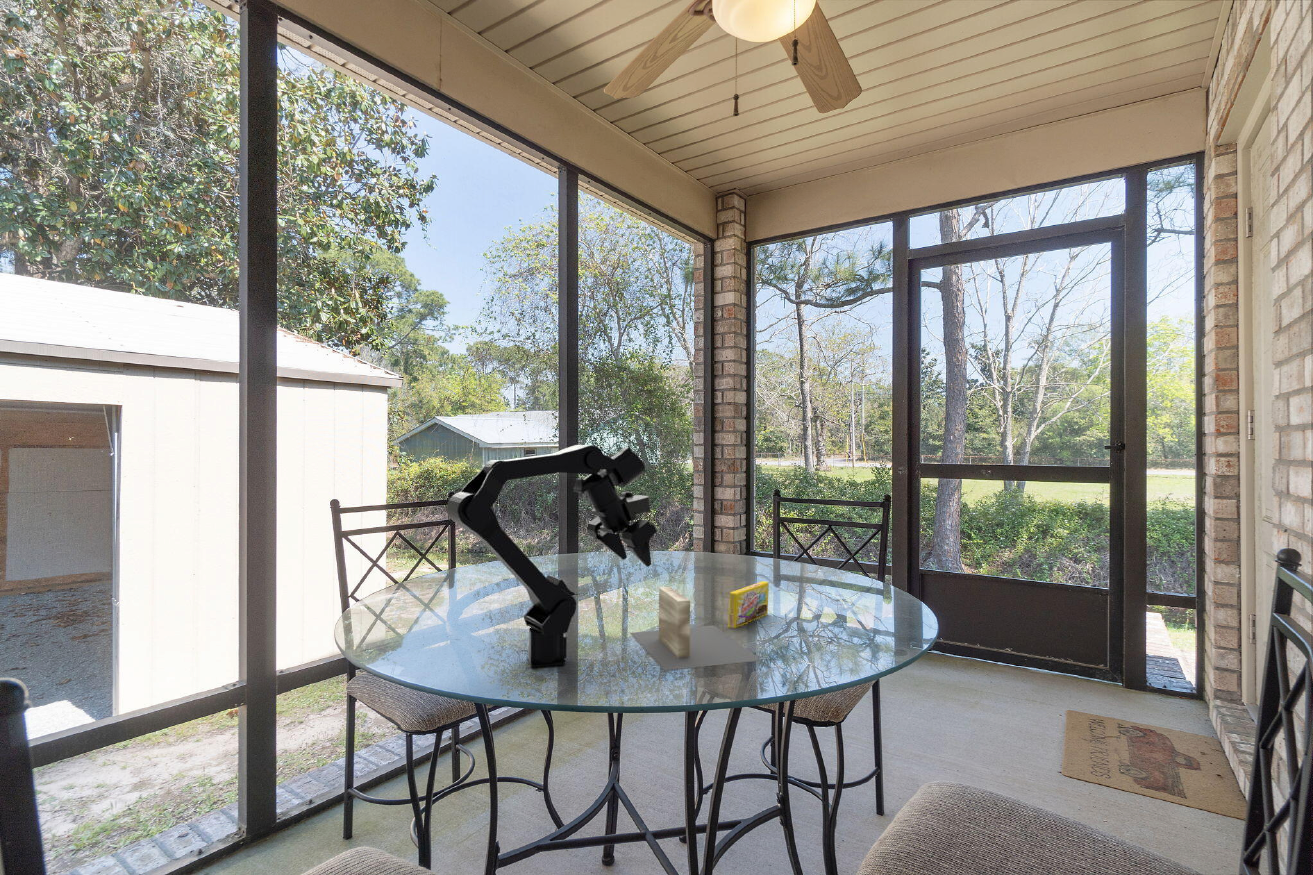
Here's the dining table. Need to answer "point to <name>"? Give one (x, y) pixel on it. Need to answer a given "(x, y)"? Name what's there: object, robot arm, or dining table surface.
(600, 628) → the dining table surface
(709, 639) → the mat
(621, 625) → the dining table surface
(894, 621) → the dining table surface
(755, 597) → the candy box
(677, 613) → the birch tile
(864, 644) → the dining table surface
